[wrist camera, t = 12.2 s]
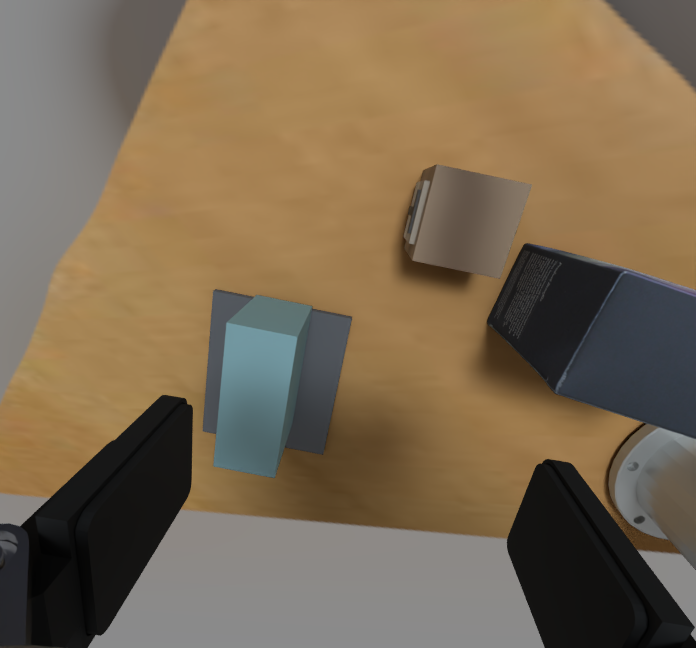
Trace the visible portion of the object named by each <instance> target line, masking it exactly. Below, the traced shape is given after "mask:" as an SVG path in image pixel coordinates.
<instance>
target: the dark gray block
mask: <svg viewBox="0 0 696 648" xmlns="http://www.w3.org/2000/svg"><path fill="white" fill-rule="evenodd" d="M253 298H254V297H252V296H247V295H242V294H237V293H232V292H227V291H222V290H217V289H216V290H214V291H213V301H212V314H211V328H210V341H209V354H208V367H207V381H206V394H205V407H204V420H203V431H204V432H209V433H214V434H216V433H217V422H218V411H219V400H220V389H221V378H222V367H223V356H224V345H225V334H226V323H227V322H228V321H229V320H230V319H231V318H232V317H233V316H234V315H235V314H237V313H238V312H239V311H240V310H241V309H242V308H243V307H244V306H245V305H246V304H248V303H249V302H250V301H251V300H252V299H253ZM351 320H352V317H351V316H346V315H341V314H336V313H331V312H326V311H321V310H316V309H312V312H311V318H310V323H309V329H308V335H307V341H306V347H305V353H304V358H303V364H302V370H301V376H300V382H299V388H298V393H297V399H296V405H295V411H294V417H293V422H292V426H291V429H290V432H289V435H288V439H287V442H286V445H285V447H286V448H291V449H296V450H302V451H307V452H312V453H317V454H322V455H323V453H324V448H325V443H326V438H327V434H328V429H329V424H330V420H331V415H332V410H333V405H334V401H335V396H336V391H337V386H338V382H339V377H340V372H341V367H342V363H343V358H344V353H345V348H346V344H347V339H348V334H349V329H350V325H351Z"/></svg>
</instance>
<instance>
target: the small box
mask: <svg viewBox="0 0 696 648" xmlns="http://www.w3.org/2000/svg"><path fill="white" fill-rule="evenodd" d="M487 323H488V325H489V326H490V327H492V328H493V329H494V330H495V331H496V332H497V333H498V334H500V336H501V337H502V338H503V339H505V340H506V342H507V343H509V345H511V346H512V347H513V348H514V349H515V350H516V351H517V352H518V353H519V354H520V355H521V357H522V358H524V359H525V360H526V361H527V362H528V363H529V364H530V366H531V367H533V368H534V370H535V371H536V372H537V373H538V374H539V375H540V376H541V377H542V379H543V380H544V381H545V382H546V383H547V385H548V386H549V387H550V389H551V390H552V391H553V392H554V393H555V394H558V395H561V396H564V397H567V398H570V399H573V400H576V401H579V402H582V403H586V404H589V405H592V406H594V407H597V408H601V409H604V410H607V411H610V412H613V413H616V414H619V415H622V416H625V417H629V418H632V419H634V420H637V421H640V422H643V423H646V424H650V425H653V426H656V427H659V428H662V429H665V430H668V431H671V432H675V433H678V434H681V435H684V436H687V437H690V438H693V439H696V290H694V289H691V288H688V287H685V286H681V285H678V284H675V283H672V282H669V281H666V280H663V279H660V278H657V277H653V276H650V275H647V274H644V273H641V272H638V271H634V270H631V269H628V268H624V267H621V266H617V265H614V264H610V263H606V262H603V261H599V260H595V259H591V258H588V257H584V256H580V255H576V254H572V253H568V252H564V251H561V250H556V249H552V248H547V247H543V246H538V245H533V244H528V243H527V244H524V246H523V248H522V250H521V252H520V254H519V256H518V258H517V260H516V262H515V264H514V266H513V268H512V270H511V272H510V274H509V276H508V278H507V280H506V282H505V284H504V287H503V289H502V291H501V293H500V295H499V297H498V299H497V301H496V303H495V305H494V307H493V310H492V312H491V314H490V316H489V318H488V321H487Z"/></svg>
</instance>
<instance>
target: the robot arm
mask: <svg viewBox="0 0 696 648" xmlns="http://www.w3.org/2000/svg"><path fill="white" fill-rule="evenodd" d="M192 424H193V408H192V406H191V405H188V404H187V401H186V399H185V398H180V397H174V396H168V395H162V396H161V397H160V398H159V399H157V400H156V401H155V402H154V403H153V404H152V405H151V406H150V407H149V408H148V409H147V410H146V411H145V412H144V413H143V414H142V415H141V416H140V417H139V418H138V419H136V420H135V421H134V422H133V423H132V424H131V425H130V426H129V427H128V428H127V429H126V430H125V431H124V432H123V433H122V434H121V435H120V436H119V437H118V438H117V439H115V440H114V441H111V442H110V443H109V444H107V445H106V446H105V447H104V448H103V449H102V450H101V451H100V452H99V453H98V454H96V455H95V456H94V457H93V458H92V459H91V460H90V461H89V462H88V463H87V464H86V465H85V466H84V467H83V468H82V469H81V470H79V471H78V472H77V473H76V474H75V475H74V476H73V477H72V478H71V479H70V480H69V481H68V482H67V483H66V484H65V485H64V486H62V487H61V488H60V489H59V490H58V491H57V492H56V493H55V494H54V495H53V496H52V497H51V498H50V499H49V500H48V501H47V502H46V503H44V504H43V505H42V506H41V507H40V508H39V509H38V510H37V511H36V512H35V513H34V514H33V515H32V516H31V517H30V518H29V519H27V521H25V522H24V523H23V524H22V525H21V526H17V525H13V524H0V648H88V646H89V644H90V643H91V641H92V640H93V638H94V637H95V635H102V634H104V632H105V631H106V630H107V629H108V627H109V626H110V624H111V623H112V621H113V619H114V618H115V616H116V614H117V612H118V611H119V609H120V608H121V606H122V604H123V603H124V601H125V599H126V598H127V596H128V595H129V593H130V591H131V589H132V588H133V586H134V585H135V583H136V581H137V580H138V578H139V577H140V575H141V573H142V572H143V570H144V568H145V566H146V565H147V563H148V562H149V560H150V558H151V557H152V555H153V553H154V552H155V550H156V549H157V547H158V545H159V543H160V542H161V540H162V539H163V537H164V535H165V534H166V532H167V530H168V529H169V527H170V525H171V524H172V522H173V521H174V519H175V517H176V515H177V514H178V512H179V511H180V509H181V507H182V506H183V504H184V503H185V501H186V499H187V497H188V495H189V492H190V489H191V478H192ZM608 485H609V492H610V496H611V499H612V501H613V503H614V505H615V507H616V508H617V509H618V511H619V512H620V513H621V515H622V516H623V517H624V518H625V519H626V520H627V521H628V523H629V524H630V525H632V526H633V527H635V528H636V529H638V530H640V531H641V532H643V533H646V534H648V535H651V536H654V537H657V538H662V539H667V540H670V541H671V542H672V544H673V545H674V546H675V547H676V548H677V549H678V550H679V552H680V553H681V554H682V555H683V556H684V557H685V558H686V559H687V561H688V562H689V563H690V564H691V565H692V566H693V568H694V569H695V570H696V439H693V438H690V437H687V436H684V435H681V434H678V433H675V432H671V431H668V430H665V429H662V428H659V427H656V426H653V425H650V424H646V425H644V426H643V427H642V428H641V429H639V430H638V431H637V432H636V433H635V434H633V435H632V436H631V437H630V438H629V439H628V441H627V442H626V443H625V444H624V445H623V446H622V447H621V449H620V451H619V452H618V454H617V456H616V457H615V459H614V461H613V464H612V467H611V470H610V473H609V483H608ZM507 549H508V553H509V556H510V558H511V561H512V563H513V566H514V569H515V571H516V574H517V577H518V579H519V582H520V584H521V586H522V589H523V592H524V595H525V597H526V600H527V603H528V605H529V607H530V610H531V613H532V616H533V618H534V621H535V623H536V626H537V628H538V631H539V634H540V636H541V639H542V641H543V644H544V647H545V648H696V641H695V640H694V638H693V637H692V636H691V632H692V631H693V629H694V628H695V627H694V626H693V624H692V623H691V622H690V620H689V619H688V618H687V616H686V615H685V614H684V612H683V611H682V610H681V608H680V607H679V606H678V604H677V603H676V602H675V600H674V599H673V598H672V596H671V595H670V594H669V592H668V591H667V590H666V588H665V587H664V586H663V584H662V583H661V582H660V580H659V579H658V578H657V576H656V575H655V574H654V572H653V571H652V570H651V568H650V567H649V566H648V565H647V563H646V562H645V560H644V559H643V558H642V557H641V555H640V554H639V552H638V551H637V550H636V548H635V547H634V546H633V544H632V543H631V542H630V540H629V539H628V538H627V536H626V535H625V534H624V532H623V531H622V530H621V528H620V527H619V526H618V525H617V523H616V522H615V521H614V519H613V518H612V517H611V515H610V514H609V513H608V511H607V510H606V509H605V507H604V506H603V505H602V503H601V502H600V501H599V499H598V498H597V497H596V495H595V494H594V493H593V491H592V490H591V489H590V487H589V486H588V485H587V483H586V482H585V481H584V479H583V478H582V477H581V475H580V474H579V473H578V471H577V470H576V469H575V467H574V466H573V465H572V464H571V463H568V462H562V461H556V460H550V459H546V460H545V461H543V463H542V464H538V465H537V466H536V468H535V470H534V473H533V475H532V478H531V480H530V483H529V485H528V488H527V490H526V493H525V495H524V498H523V500H522V503H521V505H520V508H519V510H518V513H517V515H516V518H515V520H514V523H513V525H512V528H511V530H510V533H509V536H508V539H507Z"/></svg>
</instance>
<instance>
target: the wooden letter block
mask: <svg viewBox="0 0 696 648" xmlns="http://www.w3.org/2000/svg"><path fill="white" fill-rule="evenodd" d="M531 187H532V185H531V184H527V183H522V182H517V181H513V180H508V179H503V178H498V177H494V176H489V175H484V174H480V173H475V172H470V171H466V170H461V169H456V168H451V167H447V166H442V165H434V166H432V167H430V168H427V169H425V170H423V173H422V177H421V181H420V182H417V183H416V188H415V192H414V196H413V200H412V204H411V206H410V207H409V212H408V215H409V216H408V220H407V224H406V229H405V233H404V238H405V239H406V242H405V246H404V249H405V251H406V252H407V254H408V255H409V257H410V258H411V260H412V261H417V262H422V263H426V264H431V265H436V266H441V267H446V268H450V269H455V270H460V271H465V272H470V273H475V274H479V275H484V276H489V277H494V278H499V279H500V277H501V274H502V271H503V268H504V265H505V263H506V260H507V257H508V254H509V251H510V248H511V245H512V242H513V239H514V236H515V233H516V230H517V227H518V225H519V222H520V219H521V216H522V213H523V210H524V207H525V204H526V201H527V198H528V195H529V192H530V189H531Z"/></svg>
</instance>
